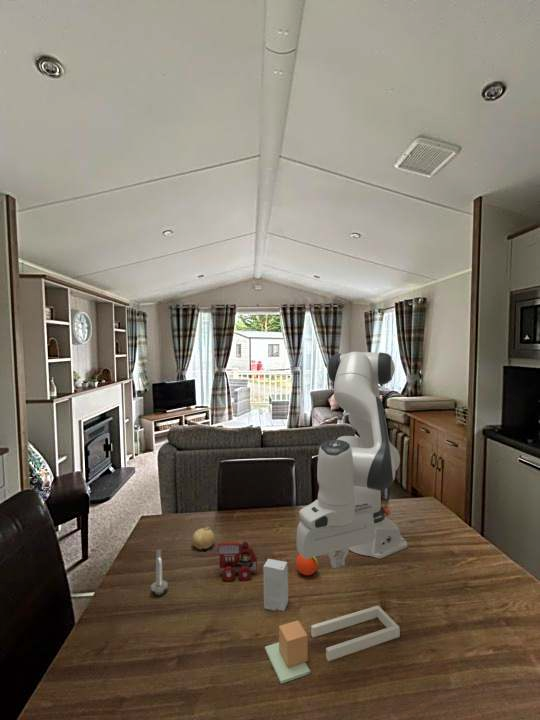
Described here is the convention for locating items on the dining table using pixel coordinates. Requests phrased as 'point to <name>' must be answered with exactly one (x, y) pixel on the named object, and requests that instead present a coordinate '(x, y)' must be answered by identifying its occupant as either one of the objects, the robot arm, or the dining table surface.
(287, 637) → the block
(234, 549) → the toy fire truck
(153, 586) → the screw
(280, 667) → the pad
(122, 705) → the dining table surface
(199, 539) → the onion
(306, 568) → the clementine
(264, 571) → the skincare box
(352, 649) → the chute
